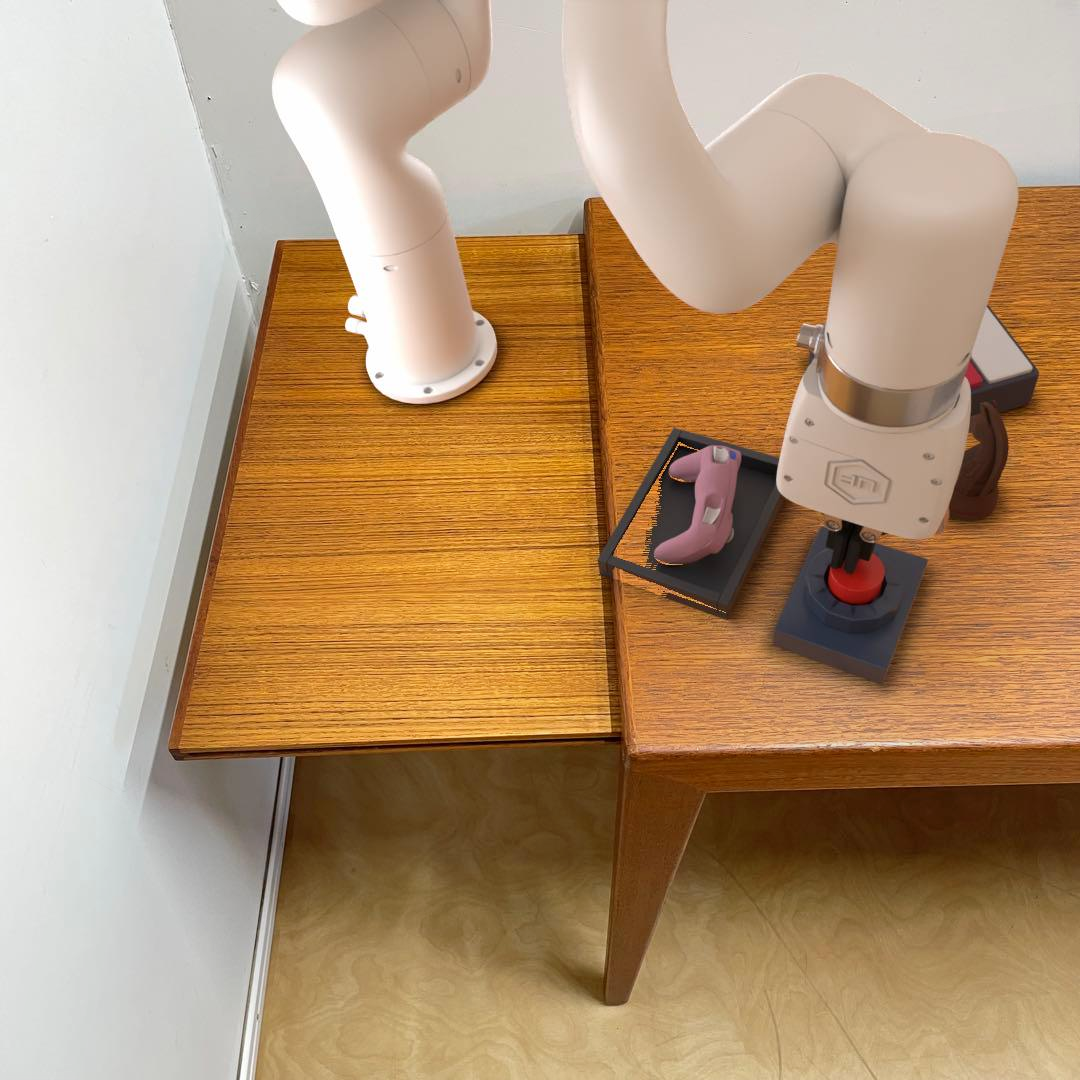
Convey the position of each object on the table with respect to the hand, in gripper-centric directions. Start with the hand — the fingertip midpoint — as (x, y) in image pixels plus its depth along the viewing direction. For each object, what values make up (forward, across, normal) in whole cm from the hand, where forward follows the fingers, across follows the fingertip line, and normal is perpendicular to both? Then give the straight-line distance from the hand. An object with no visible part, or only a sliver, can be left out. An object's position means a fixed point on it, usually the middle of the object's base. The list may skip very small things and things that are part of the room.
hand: (848, 555), depth 69 cm
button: (+2, +1, -1) cm, 2 cm away
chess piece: (+6, +6, +12) cm, 15 cm away
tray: (+6, -12, +2) cm, 14 cm away
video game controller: (+6, -12, +2) cm, 13 cm away
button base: (+6, +1, -1) cm, 6 cm away
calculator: (+6, -1, +23) cm, 24 cm away
